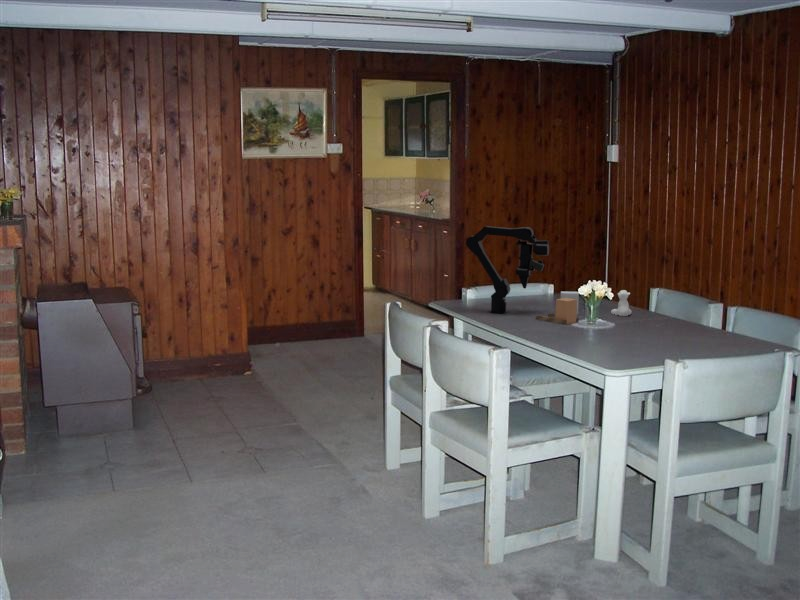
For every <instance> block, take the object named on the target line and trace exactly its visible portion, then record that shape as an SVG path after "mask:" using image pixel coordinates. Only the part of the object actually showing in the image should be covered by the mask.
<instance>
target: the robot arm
mask: <svg viewBox="0 0 800 600" xmlns="http://www.w3.org/2000/svg"><path fill="white" fill-rule="evenodd" d="M488 236H499V237H500V236H501V237H512V238H515V239H517V240H518V241H517V242H515V245H517V246H519V256H518V261H519V263H518V267H517V268H516V270H514V271H515V274H514V275H516V276H518V279H519V280H520V283H521V286H522V288H523V289H526V288H527V286H528V282H529V278H530V276H531V275H532V274H533V272H535V271H536V270H537V271H538V272H540V273H541V272H542V271H543V269H544V267H545V263H544V262H543V260H541V259H539V260H538V261H537V260H534V257H533V254H534V255H535V256H549V253H550V245H549V240H538V239H537V237H536V236H535V235H534V230H533V229H532V227H529V226H524V227H516V228H515V227H513V228H512V227H502V226H489V225H485V226H483V227H482V228H481V229H480V230H479V231H478V232H477V233H475V234H473V235H470V236H469V237H467V238H466V240H465V245H466V248H468V249H469V250H470V251H471V253H472V254H473V255H475V256H476V257H477V259H478V261H479V262H480V264H481V265H482V267H483V269H484V271H485V272H486V274H487V275H488V277H489V278H490V280H491V282H492V285H493V289H494V293H492V294H491V296H490V298H491V303H490V305H491V307H490V309H491V310H490V311H489V312H491V314H505V313H506V312H507V309H508V302H506V301H507V300H506V297H507V296H508V295H509V294H510V292H511V287H510V286H511V284H510V283H509V282H508V279H507V278H506V277H505V278H502V277H501V276H500V274H499V273H498V272H497V270H496V267H495V266H494V265H493V263H492V261H491V259H489V257H488V255H487V253H486V252H485V249H484V245H483V242H482V241H484V239H485V238H486V237H488ZM531 271H532V272H531Z"/></svg>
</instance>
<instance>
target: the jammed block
mask: <svg viewBox="0 0 800 600" xmlns="http://www.w3.org/2000/svg"><path fill="white" fill-rule="evenodd" d="M555 314H556V316H555V318H557V319H563V320H567V324H566V325H569V324H574V323H577V322H576V318H577V315H578V314H577V299H570V298H562V299H560V298H557V299H555Z"/></svg>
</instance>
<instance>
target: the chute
mask: <svg viewBox="0 0 800 600" xmlns="http://www.w3.org/2000/svg"><path fill="white" fill-rule="evenodd" d="M555 316H556V313H552V312H547V316H546V315H540V314H539V315H538V314H536V315H535V320H537V321H541V322H542V321H543V322H547V323H548V322H549V323H554V324H559V325H565V326H566V325H568V324H567V320H563V319H557V318H555ZM579 320H580V318H579V317H576V322H575V323H579V322H580V321H579Z"/></svg>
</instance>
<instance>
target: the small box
mask: <svg viewBox="0 0 800 600" xmlns="http://www.w3.org/2000/svg"><path fill="white" fill-rule="evenodd" d="M579 295H580V294H579V292H578V291H566V290H565V291H560V295H559V296H560V298H559V299H562V298H570V299H577V315H579V302H580V301H579V300H580V299H579V298H580V296H579Z"/></svg>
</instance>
